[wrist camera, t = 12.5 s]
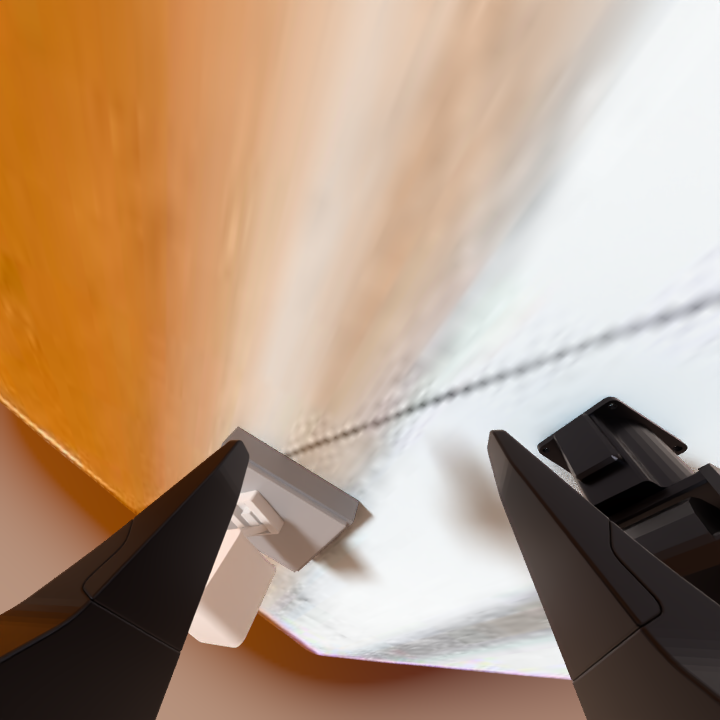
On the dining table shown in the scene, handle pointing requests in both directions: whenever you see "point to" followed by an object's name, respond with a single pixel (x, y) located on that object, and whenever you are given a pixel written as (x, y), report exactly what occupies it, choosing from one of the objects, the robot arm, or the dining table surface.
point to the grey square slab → (293, 504)
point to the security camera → (237, 576)
